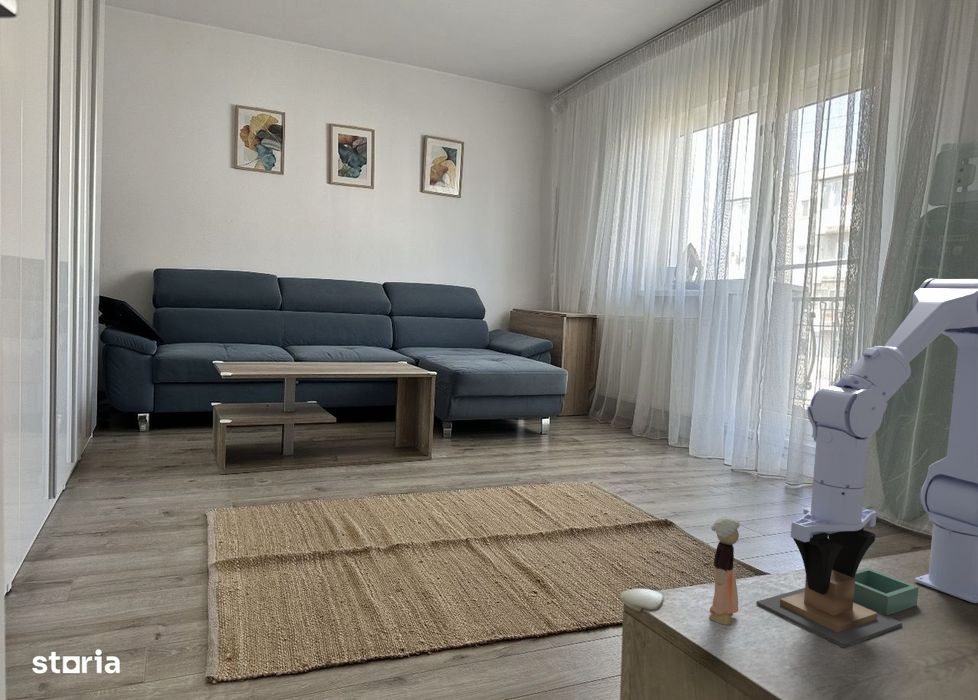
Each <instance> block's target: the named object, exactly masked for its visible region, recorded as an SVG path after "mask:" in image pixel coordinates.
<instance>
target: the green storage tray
mask: <svg viewBox="0 0 978 700" xmlns="http://www.w3.org/2000/svg"><path fill="white" fill-rule="evenodd" d="M854 578H855V587H854V599H853V602H855V603H857V604H860V605H862V606H864V607H867V608H869V609H871V610H874V611H876V612H878V613H881V614H883V615H885V616H891V615H893V614H895V613H898V612H902V611H904V610H907V609H910V608H913V607H916V606H917V605H918V598H919V597H918V596H919V586H917V585H915V584H912V583H909V582H906V581H904V580H901V579H898V578H896V577H894V576H893V577H892V576H890V575H888V574H885V573H883V572H880V571H877V570H874V569H872V568H869V567H865V568H861V569H857V572H856V574H855V577H854Z"/></svg>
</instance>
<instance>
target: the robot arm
mask: <svg viewBox="0 0 978 700" xmlns="http://www.w3.org/2000/svg"><path fill="white" fill-rule="evenodd" d="M941 334H942V335H944V336H946V337H948V338H949V339H950V340H951V341H953V343H954V344H955V345H956V346H957V356H956V363H955V364H956V365H955V375H954V382H953V383H954V385H953V392H952V393H953V395H952V404H951V414H950V422H949V430H948V431H949V432H948V442H947V448H946V449H947V450H946V456H944V457H943V458H941V459H939V460H937V461H935V462H933V463H931V464H930V465H928V469H927V475H926V478H925V481H924V483H923V485H922V486H921V490H920V502H921V506H922V509H923V510H924V511H925V512H926V513H927V514H928V521H931V522H933V524H932V535H931V544H930V555H929V565H928V573H926V574H923V575H921V576H917V577H915V578H914V581H915V583H918V584H921V585H924V586H925V587H930V588H932V589H935V590H938V591H940V592H942V593H945V594H948V595H951V596H953V597H956V598H959V599H962V600H965V601H966V602H969V603H972V604H978V278H945V279H944V278H938V277H931V278H928V279H926V280H924V281H923V283H922V284H921V285H920V286H919V287H918V289H917V290H915V292H913V295H912V310H911V311H910V312H909V314H907V316H906V317H905V318H904V320H903V321H902V322H901V323H900V325H899V326H898V328H896V330H895V332H894V333H893V334H892V336H891V337H890V338H889V339H888V341H887V342H886V343H885V345H875V346H872V347H870V348H869V347H867V348H866V349H865V350H864V351H863V352H862V355H861V356H860V357H859V358H858V359H857V361H856V362H855V363H854V364H852V366H851V367H850V368H849V369H848V370H847V371H846V372H845V373H844V374H843V376H841V378H840V379H839V380H838V381H837V382H836V383H835V384H834V385H828V386H827V385H826V386H824V387H823V388H821V389H819V390H818V391H816V392H815V393H814V395H813V396H812V397H811V400H810V404H809V405H808V406H807V410H806V411H807V417H808V420H809V422H810V424H811V427H812V434H811V435H812V438H813V441H814V442H815V451H814V466H813V477H812V478H813V479H812V492H811V503H810V506H808V507H804V508H803V510H802V513H803V516H802V517H800V518H799V519H797V520H794V521H792V522H791V526H790V538H792V539H793V541H794V543H795V544H796V547H797V549H798V550H799V553H800V556H801V559H802V562H803V567H804V571H805V578H806V577H807V582H808V587H809V589H811V590H813V591H815V592H818V593H820V594H823V595H824V594H826V593H827V591H828V588H829V584H830V579H831V573H832V570H835V571H837V572H840V573H842V574H845V575H847V576H850V577H852V578H854V577H855V574H856V572H857V570H859V566H860V564H861V561H862V560H863V558H864V556H865V554H866V553H867V552H868V549H870V547H871V546H872V544H874V542H875V541H876V534H875V533H873V532H872V531H868V530H865V527H868V528H874V527H876V524H877V523H876V522H877V513H878V512H877V511H874V510H873V509H872V510H871V509H868V508H865V507H864V497H865V495H864V494H865V482H866V472H867V470H866V469H867V460H868V459H867V458H868V449H869V439H870V438H869V437H871V436H872V435H874V433H876V432H877V431H878V430H879V429H880V428H881V424H882V422H883V418H884V414H885V412H886V410H887V407H888V406H889V404H888V401H889V400H891V398H892V397H893V396H894V394H895V393H896V392H897V391H898V390H899V389H900V387H902V386H903V385H904V383H905V382H906V381H907V380H908V379H909V378H910V376H911V374H912V369H911V365H910V363H911V361H913V359H915V358H916V357H917V356H919V354H920V353H921V352H923V350H924V349H926V347H928V346H929V345H930V344H931V343H932V342H933V341H934V340H935V339H936V338H938V337H939V336H940V335H941Z"/></svg>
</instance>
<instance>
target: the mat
mask: <svg viewBox="0 0 978 700" xmlns="http://www.w3.org/2000/svg"><path fill="white" fill-rule="evenodd" d="M803 592H805V587H803V588H799V589H796V590H792V591H789V592H785V593H781V594H778V595H774V596H771V597H768V598H764V599H760V600H757V601H756V603H755V604H756V605H757V606H759V607H761V608H763V609H764V610H767V611H769V612H771V613H773V614H775V615H777V616H778V617H780V618H784V619H785V620H787V621H789V622H790V623H793V624H795V625H797V626H799V627H801V628H804V629H806V630H807V631H810V632H811V633H813V634H815V635H817V636H819V637H821V638H823V639H825V640H828V641H830V642H831V643H834V644H835V645H837V646H839V647H842V648H846V647H848V646H851V645H855V644H856V643H859V642H863V641H865V640H868V639H871V638H874V637H876V636H878V635H879V636H880V635H881V634H884V633H888V632H890V631H892V630H895V629H898V628H900V627H903V622H901V621H899V620H897V619H894V618H892V617H890V616H889V615H887V616H886V615H884V614H881V613H879V612H877V611H874V610H872V609H870V608H867V607H865V606H863V605H860V604H858V603H856V602H853V603H856V604H858V605H860V606H863V607H865V608H867V609H870V610H872V611H874V612H877V613H878V614H877V619H876V620H873V621H870V622H867V623H864V624H861V625H858V626H856V627H853V628H850V629H847V630H844V631H841V632H836V631H833V630H831V629H829V628H827V627H825V626H823V625H821V624H819V623H817V622H815V621H813V620H811V619H809V618H806V617H804V616H802V615H800V614H798V613H796V612H794V611H792V610H790V609H788V608H786V607H784V606H781V605H780V599H782V598H785V597H789V596H792V595H796V594H799V593H803Z"/></svg>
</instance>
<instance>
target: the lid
mask: <svg viewBox="0 0 978 700" xmlns="http://www.w3.org/2000/svg"><path fill="white" fill-rule="evenodd" d="M804 583H805V584H804V588H805V592H803V593H799V594H796V595H792V596H789V597H785V598H782V599H780V605H781V606H784V607H786V608H788V609H790V610H792V611H794V612H796V613H798V614H800V615H802V616H804V617H806V618H809V619H811V620H813V621H815V622H817V623H819V624H821V625H823V626H825V627H827V628H829V629H831V630H833V631H836V632H841V631H844V630H847V629H850V628H853V627H856V626H858V625H861V624H864V623H867V622H870V621H873V620H876V619H877V614H878V613H879V612H878V613H877V611H876V612H874V611H872V609H871V610H870V608H869V609H867V608H865V606H864V607H863V605H862V606H860V605H858V603H857V604H856V602H855V603H853V599H854V587H855V578H852V577H850V576H847V575H845V574H842V573H840V572H837V571H835V570H832V573H831V579H830V584H829V588H828V591H827V593H826V594H824V595H823V594H820V593H818V592H815V591H813V590H811V589H809V587H808V582H807V577H806V576H805V582H804Z"/></svg>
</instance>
